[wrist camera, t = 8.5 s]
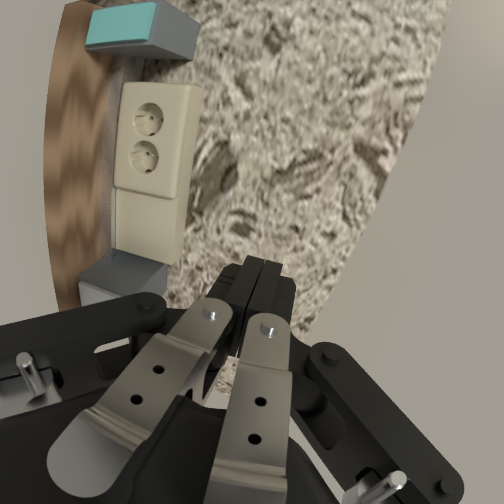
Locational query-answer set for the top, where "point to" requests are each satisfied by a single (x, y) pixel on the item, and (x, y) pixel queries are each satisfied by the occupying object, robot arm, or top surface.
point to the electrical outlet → (155, 167)
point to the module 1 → (143, 31)
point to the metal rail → (113, 149)
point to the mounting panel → (74, 152)
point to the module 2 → (121, 278)
